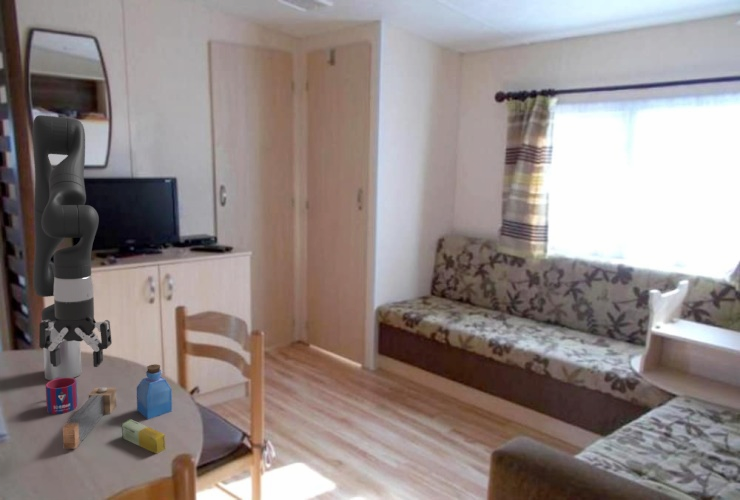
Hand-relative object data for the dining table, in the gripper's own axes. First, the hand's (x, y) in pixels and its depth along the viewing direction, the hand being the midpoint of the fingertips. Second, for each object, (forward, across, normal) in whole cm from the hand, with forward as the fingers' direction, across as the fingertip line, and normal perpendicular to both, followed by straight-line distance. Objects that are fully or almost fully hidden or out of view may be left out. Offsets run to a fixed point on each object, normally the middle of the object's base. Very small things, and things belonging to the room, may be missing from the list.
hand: (77, 365), depth 117 cm
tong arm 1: (+17, +1, -2) cm, 17 cm away
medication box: (+18, -15, +3) cm, 23 cm away
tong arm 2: (+17, -1, -2) cm, 17 cm away
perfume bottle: (+18, -13, -13) cm, 25 cm away
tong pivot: (+18, 0, -13) cm, 22 cm away
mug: (+18, +11, -16) cm, 26 cm away
